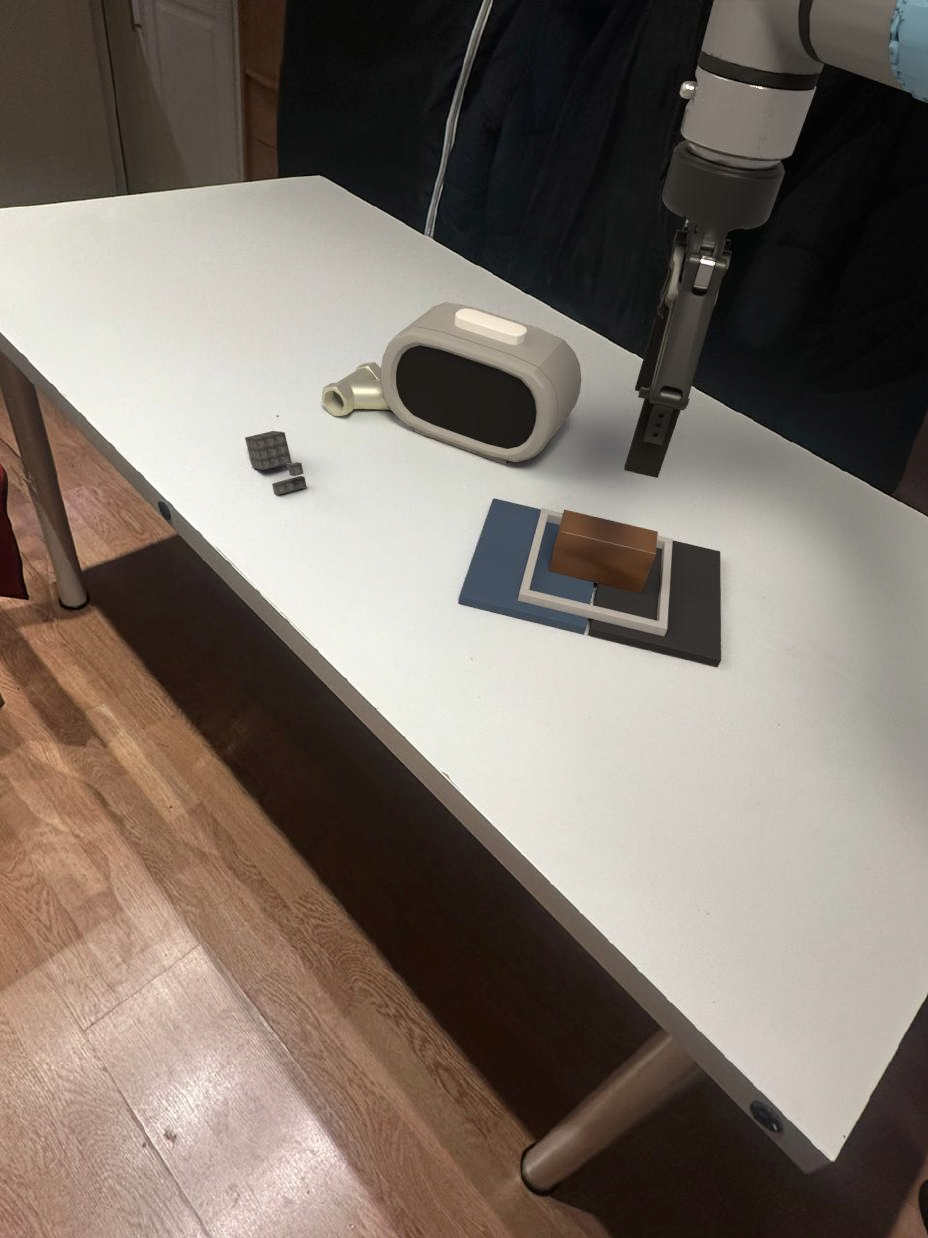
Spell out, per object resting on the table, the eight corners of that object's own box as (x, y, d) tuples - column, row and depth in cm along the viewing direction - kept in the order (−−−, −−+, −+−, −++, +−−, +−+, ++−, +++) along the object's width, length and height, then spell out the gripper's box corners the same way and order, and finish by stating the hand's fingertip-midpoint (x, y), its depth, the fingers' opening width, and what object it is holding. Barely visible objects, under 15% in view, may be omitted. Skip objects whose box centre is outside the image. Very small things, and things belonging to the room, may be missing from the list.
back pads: (717, 558, 85) (723, 543, 83) (717, 667, 73) (725, 652, 72) (491, 505, 87) (494, 489, 85) (457, 604, 75) (460, 587, 74)
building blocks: (273, 430, 87) (304, 434, 80) (285, 481, 89) (316, 489, 82) (244, 437, 85) (274, 441, 79) (257, 489, 87) (287, 497, 81)
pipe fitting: (406, 407, 99) (360, 384, 101) (411, 379, 96) (364, 355, 98) (368, 435, 94) (320, 410, 96) (371, 405, 91) (323, 380, 93)
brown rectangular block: (643, 571, 80) (658, 531, 77) (641, 594, 78) (656, 553, 74) (553, 549, 81) (564, 508, 78) (548, 571, 78) (559, 530, 75)
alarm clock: (375, 422, 95) (381, 310, 86) (413, 389, 102) (422, 281, 92) (538, 482, 91) (564, 370, 81) (567, 443, 97) (593, 335, 88)
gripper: (680, 101, 64) (614, 356, 79) (670, 193, 46) (586, 501, 61) (776, 119, 63) (691, 372, 78) (804, 219, 45) (687, 524, 60)
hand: (645, 429), depth 69 cm, fingers open, 13 cm apart
